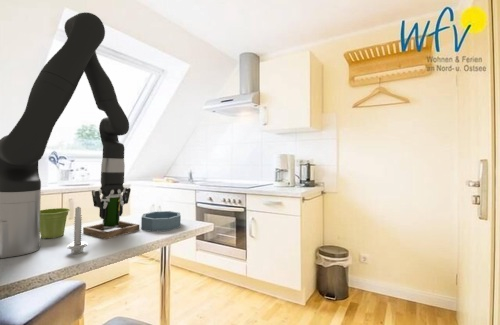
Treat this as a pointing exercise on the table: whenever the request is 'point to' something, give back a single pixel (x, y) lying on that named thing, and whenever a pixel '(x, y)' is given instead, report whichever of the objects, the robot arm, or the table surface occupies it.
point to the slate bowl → (160, 221)
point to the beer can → (112, 212)
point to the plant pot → (53, 222)
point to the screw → (77, 234)
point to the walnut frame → (97, 231)
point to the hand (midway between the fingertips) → (111, 217)
